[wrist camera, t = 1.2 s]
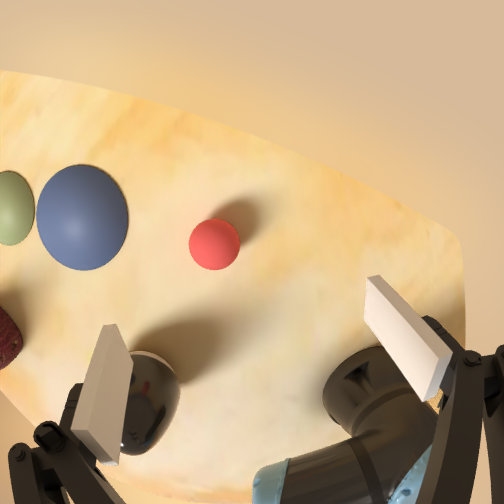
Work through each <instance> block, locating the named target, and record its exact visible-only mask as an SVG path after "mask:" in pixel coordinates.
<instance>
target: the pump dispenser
mask: <svg viewBox="0 0 504 504" xmlns="http://www.w3.org/2000/svg"><path fill="white" fill-rule="evenodd" d="M129 354H130V356H131V359H132V361H133V368H132V374H131V380H130V385H129V391H128V397H127V404H126V410H125V417H124V424H123V431H122V439H121V447H120V452H121V453H123V454H126V455H131V456H137V455H142V454H144V453H146V452H148V451H149V450H151V449H152V448H153V447H154V446H155V445H156V444H157V443H158V442H159V441H160V439H161V438H162V437H163V435H164V434H165V433H166V431H167V429H168V428H169V426H170V424H171V422H172V420H173V418H174V416H175V413H176V410H177V407H178V404H179V400H180V394H181V387H180V383H179V380H178V378H177V376H176V374H175V372H174V370H173V369H172V367H171V366H170V365H169V364H168V363H167V362H166V361H165V360H164V359H163V358H161V357H160V356H158V355H156V354H153V353H150V352H146V351H133V352H130V353H129Z"/></svg>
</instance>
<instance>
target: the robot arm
mask: <svg viewBox="0 0 504 504" xmlns="http://www.w3.org/2000/svg"><path fill="white" fill-rule="evenodd" d="M364 320H365V322H366V323H367V324H368V326H369V327H370V329H371V330H372V331H373V333H374V334H375V335H376V337H377V338H378V340H379V341H380V342H381V344H382V345H383V346H380V347H373V348H369V349H366V350H363V351H361V352H359V353H356V354H355V355H353V356H351V357H350V358H348V359H347V360H346V361H344V362H343V363H342V364H341V365H340V366H339V367H338V368H337V369H336V370H335V371H334V372H333V373H332V375H331V376H330V377H329V379H328V381H327V383H326V385H325V387H324V391H323V403H324V406H325V408H326V410H327V413H328V415H329V416H330V417H331V419H332V420H333V421H334V422H336V423H337V424H339V425H341V426H342V428H343V429H344V430H345V431H346V432H348V433H349V434H350V435H351V436H352V438H350V439H348V440H345V441H342V442H339V443H336V444H334V445H331V446H328V447H325V448H322V449H319V450H316V451H313V452H310V453H307V454H304V455H301V456H298V457H294V458H291V459H290V458H286V460H285V461H282V462H279V463H275V464H272V465H269V466H266V467H263V468H261V469H260V470H259V471H258V472H257V473H256V475H255V477H254V481H253V487H252V504H469V503H470V498H471V494H472V489H473V484H474V479H475V474H476V468H477V462H478V454H479V448H480V440H481V430H482V419H483V422H484V428H485V434H486V441H487V449H488V457H489V467H490V478H491V495H492V504H504V345H500V346H499V347H498V348H497V350H496V353H495V354H493V355H487V356H481V355H480V354H479V353H477V352H475V351H472V350H466V351H465V350H464V349H463V348H462V347H461V345H460V344H459V343H458V342H457V341H456V340H455V339H454V338H453V337H452V336H451V335H450V334H449V333H447V331H446V330H445V329H444V328H442V326H441V324H440V323H439V322H438V321H437V320H435V319H433V318H431V317H430V316H428V315H426V316H424V317H420V316H419V315H418V314H417V313H416V312H415V311H414V310H413V309H412V307H411V306H410V305H409V304H408V303H407V302H406V301H405V300H404V299H403V298H402V297H401V296H400V295H399V294H398V293H397V292H396V291H395V290H394V289H393V288H392V287H391V286H390V285H389V284H388V283H387V282H386V281H385V280H384V279H383V278H382V277H381V276H380V275H376V276H372V277H368V278H367V284H366V297H365V309H364ZM132 368H133V361H132V359H131V356H130V354H129V352H128V350H127V348H126V345H125V343H124V341H123V339H122V336H121V334H120V332H119V329H118V327H117V325H116V324H112V325H104V326H103V327H102V330H101V333H100V336H99V338H98V341H97V344H96V347H95V350H94V353H93V356H92V359H91V362H90V365H89V368H88V371H87V374H86V377H85V380H84V383H77V384H75V385H74V386H73V388H72V389H71V390H70V392H69V395H68V398H67V402H66V404H65V409H64V411H63V414H62V417H61V421H60V424H59V426H58V425H57V423H56V422H53V421H45V422H43V423H41V424H40V425H39V426H37V428H36V429H35V431H34V435H33V437H34V441H35V442H36V443H37V444H38V445H39V446H40V447H36V448H32V449H31V448H30V447H29V446H28V445H27V444H25V443H17V444H15V445H14V446H13V447H12V448H11V449H10V451H9V453H8V462H9V470H10V478H11V484H12V491H13V496H14V502H15V504H70V502H69V499H68V496H67V493H66V491H67V492H68V494H69V496H70V497H71V499H72V500H73V502H74V503H75V504H126V503H125V502H124V501H123V499H122V498H121V497H120V496H119V495H118V494H117V492H116V491H115V490H114V488H113V487H112V486H111V485H110V483H109V482H108V481H107V480H106V478H105V477H104V476H103V474H102V473H101V472H100V470H99V469H98V468H97V467H96V459H97V460H98V461H99V462H100V463H101V464H102V465H119V455H120V447H121V439H122V431H123V424H124V417H125V410H126V404H127V397H128V391H129V385H130V380H131V374H132ZM439 387H440V388H441V390H442V391H443V395H442V397H441V400H440V402H439V404H438V406H437V408H439V407H440V410H439V415H438V414H437V413H436V412H435V410H434V409H433V408H432V407H431V406H430V404H429V403H428V402H427V401H426V400H428V399H431V398H433V397H435V396H436V395H437V392H438V390H439Z"/></svg>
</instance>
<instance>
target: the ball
mask: <svg viewBox="0 0 504 504" xmlns="http://www.w3.org/2000/svg"><path fill="white" fill-rule="evenodd" d="M189 249H190V253H191V255H192V257H193V259H194V260H195V261H196V263H197V264H199V265H200V266H202V267H204V268H206V269H210V270H219V269H223V268H225V267H227V266H229V265H230V264H231V263H232V262H233V261H234V260H235V259H236V257H237V255H238V253H239V249H240V240H239V236H238V234H237V232H236V230H235V229H234V227H233V226H232V225H230V224H229V223H228V222H226V221H223V220H220V219H209V220H206V221H203V222H202V223H200V224H199V225H197V226H196V228H195V229H194V230H193V232H192V234H191V236H190V240H189Z"/></svg>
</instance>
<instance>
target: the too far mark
mask: <svg viewBox="0 0 504 504" xmlns="http://www.w3.org/2000/svg"><path fill="white" fill-rule="evenodd" d="M33 219H34V202H33V197H32V193H31V191H30V188H29V186H28V185H27V183H26V182H25V180H24V179H23V178H22V177H21V176H19V175H18V174H16V173H13V172H2V173H0V243H1V244H4V245H9V246H10V245H16V244H18V243H20V242H21V241H23V240H24V239H25V238H26V236H27V235H28V233H29V231H30V229H31V227H32V224H33Z"/></svg>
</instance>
